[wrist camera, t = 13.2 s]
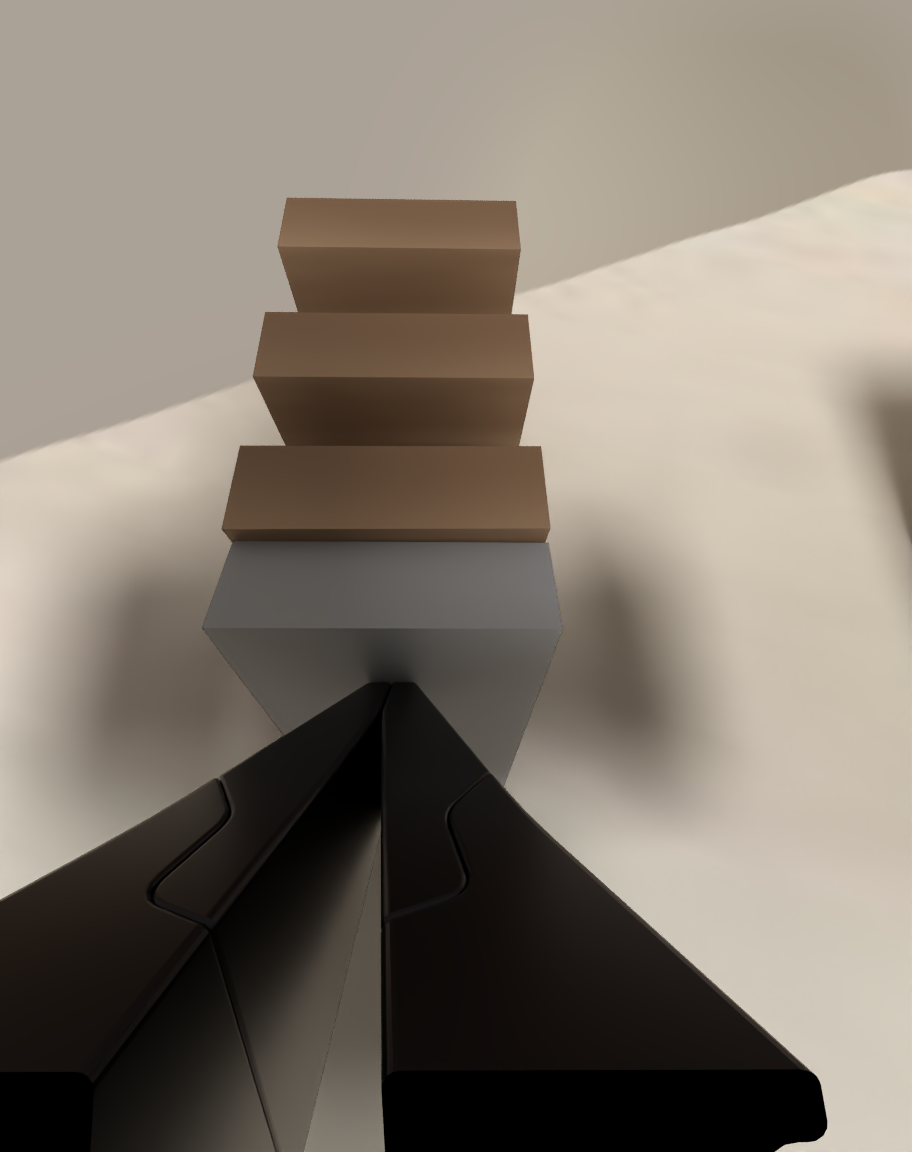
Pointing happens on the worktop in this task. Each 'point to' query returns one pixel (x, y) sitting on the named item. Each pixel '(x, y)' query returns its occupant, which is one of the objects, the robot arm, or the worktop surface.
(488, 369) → the walnut domino
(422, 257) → the walnut domino
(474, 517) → the walnut domino
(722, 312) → the worktop surface
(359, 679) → the charcoal domino
